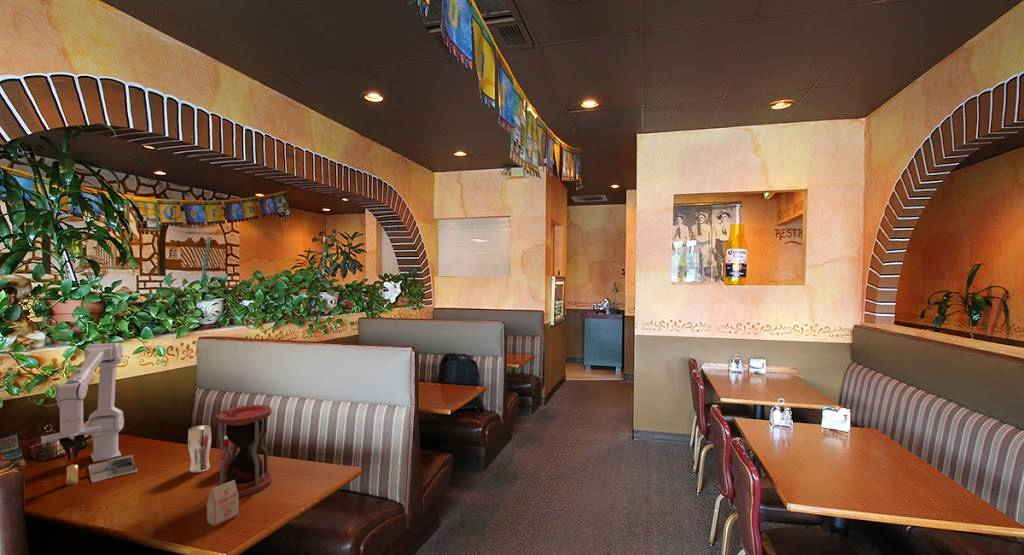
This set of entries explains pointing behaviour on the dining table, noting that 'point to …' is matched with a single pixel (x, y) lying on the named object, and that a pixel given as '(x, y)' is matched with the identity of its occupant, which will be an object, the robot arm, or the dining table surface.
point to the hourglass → (245, 447)
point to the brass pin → (72, 474)
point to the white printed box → (222, 503)
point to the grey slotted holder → (117, 461)
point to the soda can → (229, 445)
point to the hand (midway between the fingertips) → (72, 458)
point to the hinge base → (99, 472)
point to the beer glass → (199, 448)
